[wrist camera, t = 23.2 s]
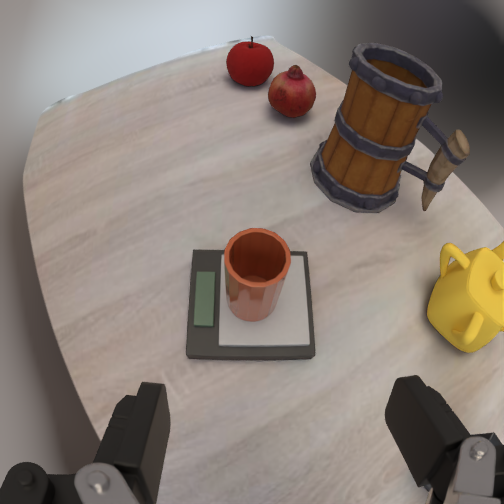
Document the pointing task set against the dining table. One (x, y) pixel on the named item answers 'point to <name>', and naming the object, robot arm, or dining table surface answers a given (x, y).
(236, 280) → the cup
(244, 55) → the apple
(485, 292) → the teapot
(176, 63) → the dining table surface
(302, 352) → the scale
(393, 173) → the mug
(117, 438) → the robot arm
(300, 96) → the fruit
